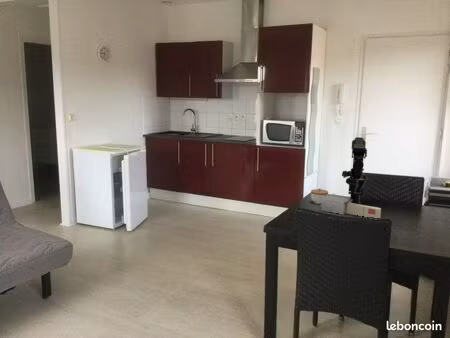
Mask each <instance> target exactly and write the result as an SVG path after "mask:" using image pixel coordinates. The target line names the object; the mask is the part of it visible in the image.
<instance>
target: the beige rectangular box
mask: <svg viewBox="0 0 450 338" xmlns="http://www.w3.org/2000/svg"><path fill="white" fill-rule="evenodd" d="M381 211H382V208H381V207H377V206H370V205H365V204H361V203H360V204H355V203H347V205H346V212H345V214H348V215H353V216H357V215H358V216H357V217H362V216H364V217H363V218H367V217H374V218H380V219H381V214H382V212H381Z"/></svg>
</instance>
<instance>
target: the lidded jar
mask: <svg viewBox="0 0 450 338" xmlns="http://www.w3.org/2000/svg"><path fill="white" fill-rule="evenodd" d="M326 196H329V191H328V190H326V189H321V188H317V189H316V188H314V189H311V190H310V197H311V201H313V203H314V204H317V205H321V200H322V198H324V197H326Z"/></svg>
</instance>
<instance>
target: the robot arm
mask: <svg viewBox="0 0 450 338" xmlns="http://www.w3.org/2000/svg"><path fill="white" fill-rule="evenodd" d="M366 145H367V142H366V141H365V140H364V137H359V136H358V137H357V136H356V137H354V139H353V140H352V141H351V159H352V168H350V170H348V171H347V170H342V172H341V177H343V179H345V178H346V179H345V183H346V184H347V185H348V195H350V196H349V199H353V200H352V201H351V203H355V204H360V205H361V204H362V202H361V201H360V198H361V197H360V196H363V195H364V190H365V189H364V185H365V184H366V182H367V180H368V178H369V177H368V175H367V174H365V173H363V172H364V171H365V168H364V165H365V164H364V160H365V159H366V158H367V156H368V149H367V148H366Z"/></svg>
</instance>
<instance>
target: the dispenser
mask: <svg viewBox="0 0 450 338" xmlns="http://www.w3.org/2000/svg"><path fill="white" fill-rule="evenodd" d="M352 200H353V199H350V197H349V198H348V197H344V196H343V197H342V196H338V195H329V194H328V196H326V197H324V198H322V200H321V204H320V211H322V212H326V213H330V212H333V213H332V214H335V213H339V214H338V215H340V214H342V215H341V216H344V215H346V212H345V211H346V205H347V203H351V201H352Z"/></svg>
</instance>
